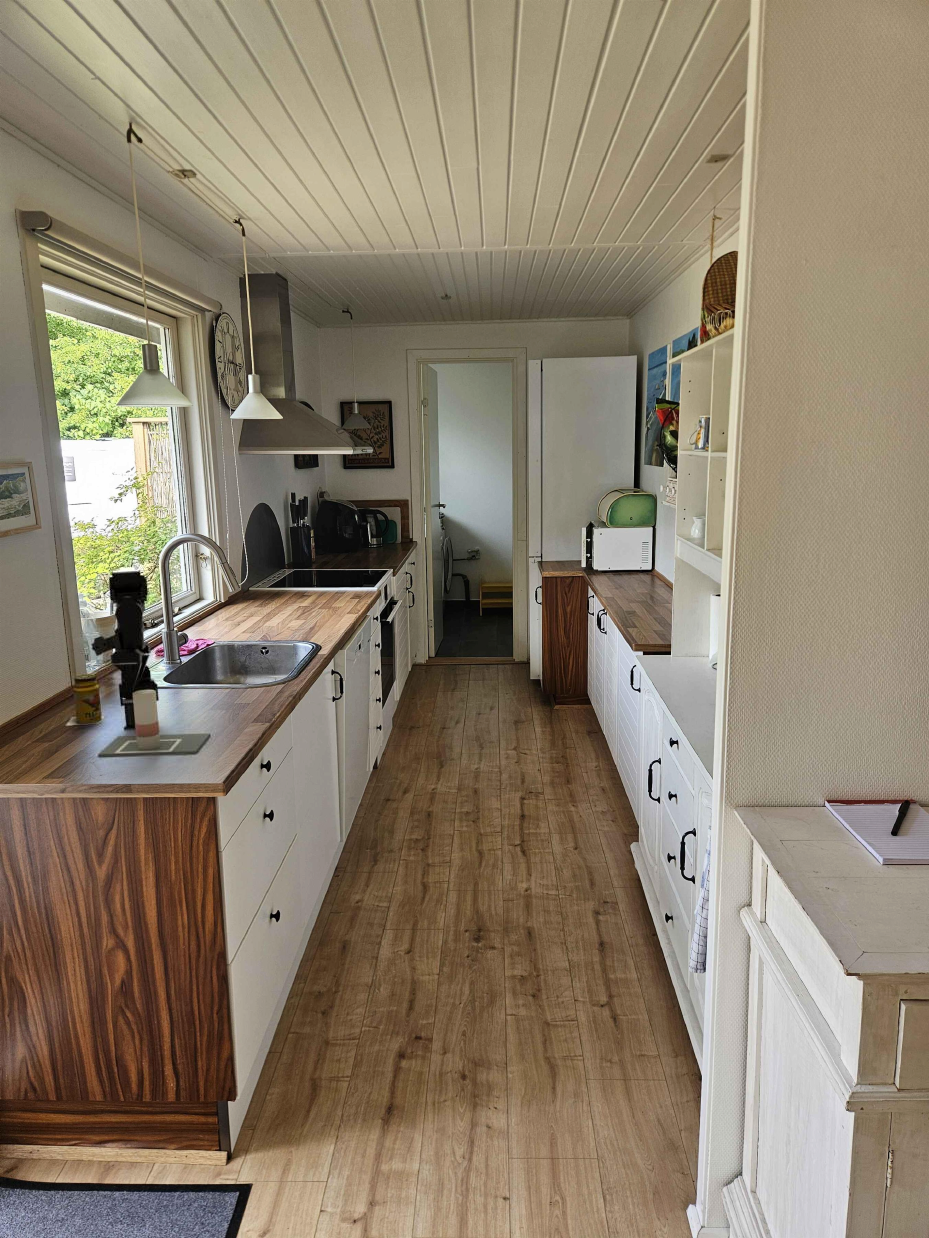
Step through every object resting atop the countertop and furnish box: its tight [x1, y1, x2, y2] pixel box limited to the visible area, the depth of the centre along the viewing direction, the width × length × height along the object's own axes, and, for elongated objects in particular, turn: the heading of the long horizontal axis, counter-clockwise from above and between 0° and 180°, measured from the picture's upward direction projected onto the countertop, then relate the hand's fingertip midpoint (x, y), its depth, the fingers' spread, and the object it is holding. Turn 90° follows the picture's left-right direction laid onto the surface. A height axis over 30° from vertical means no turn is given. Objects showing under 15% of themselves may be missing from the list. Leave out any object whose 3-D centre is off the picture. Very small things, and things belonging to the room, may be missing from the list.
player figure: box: [133, 690, 160, 750], centre depth 194 cm, size 5×5×13 cm
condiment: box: [65, 673, 106, 727], centre depth 217 cm, size 7×8×12 cm
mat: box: [97, 733, 211, 758], centre depth 197 cm, size 22×13×1 cm, turn 93°
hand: (133, 688), depth 199 cm, fingers open, 9 cm apart
